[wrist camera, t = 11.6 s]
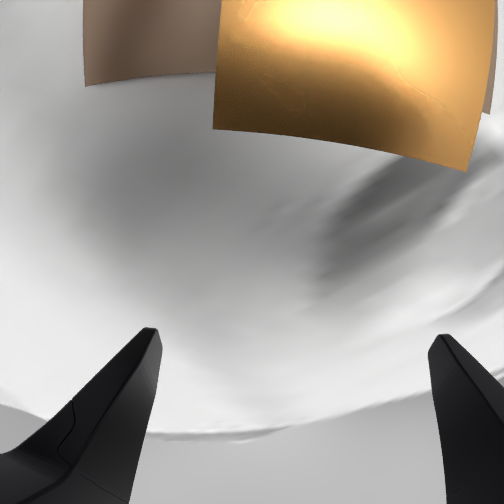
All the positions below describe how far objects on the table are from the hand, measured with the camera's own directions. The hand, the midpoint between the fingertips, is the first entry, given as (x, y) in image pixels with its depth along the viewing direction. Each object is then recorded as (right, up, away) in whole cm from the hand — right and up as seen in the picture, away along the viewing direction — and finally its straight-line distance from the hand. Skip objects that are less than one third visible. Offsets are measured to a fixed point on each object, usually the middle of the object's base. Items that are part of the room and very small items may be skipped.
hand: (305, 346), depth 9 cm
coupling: (0, +14, -4) cm, 15 cm away
